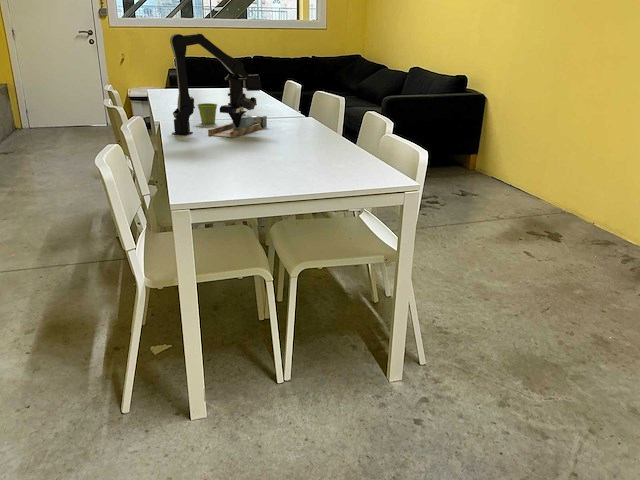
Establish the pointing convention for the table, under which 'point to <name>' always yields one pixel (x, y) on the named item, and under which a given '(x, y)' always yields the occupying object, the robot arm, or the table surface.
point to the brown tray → (232, 130)
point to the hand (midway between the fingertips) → (237, 127)
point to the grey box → (245, 122)
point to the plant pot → (207, 112)
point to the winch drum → (260, 120)
